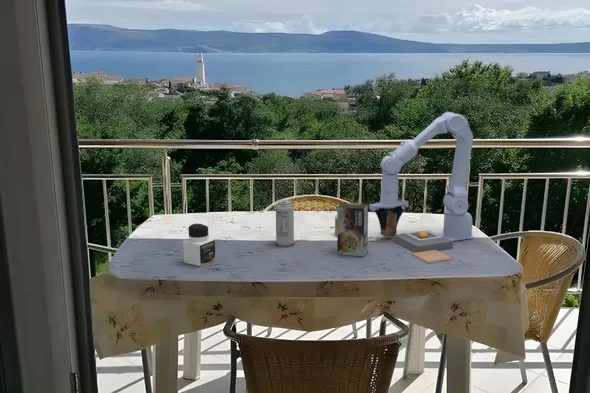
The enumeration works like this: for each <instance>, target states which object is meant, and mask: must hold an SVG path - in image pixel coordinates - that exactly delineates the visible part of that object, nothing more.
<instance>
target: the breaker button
mask: <svg viewBox="0 0 590 393" xmlns="http://www.w3.org/2000/svg"><path fill="white" fill-rule="evenodd" d="M418 231H419V239H425V238H428V232H426V231H424V230H418Z"/></svg>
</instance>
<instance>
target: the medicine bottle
mask: <svg viewBox="0 0 590 393" xmlns="http://www.w3.org/2000/svg"><path fill="white" fill-rule="evenodd" d="M187 229H188V239H186V240H182V250H183V263H184V264H189V265H193V266H197V267H203V266H205V265H208V264H210V263H213V262H215V261H216V240H215V238H211V237H209V236H210V234H209V225H208V224H206V223H203V222H202V223H201V222H200V223H198V222H197V223H193V224H190V225H189V226H188V228H187Z"/></svg>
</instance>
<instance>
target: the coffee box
mask: <svg viewBox="0 0 590 393" xmlns="http://www.w3.org/2000/svg"><path fill="white" fill-rule="evenodd" d="M336 215H337V236H336V237H337V239H336V241H337V242H336V243H337V244H336V246H337V249H336V250H337V251H336V252H337V253H336V254H337V255H341V256H342V255H343V256H352V257H354V256H355V257H365V256H366V255H367V253H368V251H369V249H368V248H369V247H368V246H369V243H368V242H369V203H358V202H357V203H356V202H341V203H340V204H339V205H338V206H337V208H336Z"/></svg>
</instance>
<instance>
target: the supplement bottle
mask: <svg viewBox="0 0 590 393" xmlns="http://www.w3.org/2000/svg"><path fill="white" fill-rule="evenodd" d="M334 235H335V237H337V214H335V216H334Z"/></svg>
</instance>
